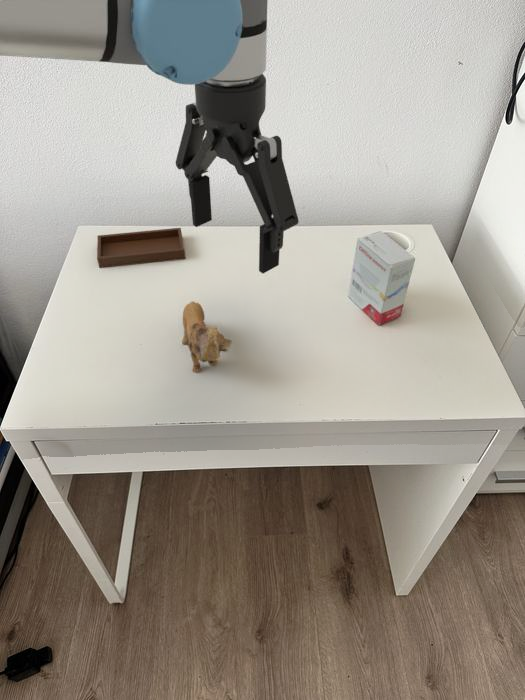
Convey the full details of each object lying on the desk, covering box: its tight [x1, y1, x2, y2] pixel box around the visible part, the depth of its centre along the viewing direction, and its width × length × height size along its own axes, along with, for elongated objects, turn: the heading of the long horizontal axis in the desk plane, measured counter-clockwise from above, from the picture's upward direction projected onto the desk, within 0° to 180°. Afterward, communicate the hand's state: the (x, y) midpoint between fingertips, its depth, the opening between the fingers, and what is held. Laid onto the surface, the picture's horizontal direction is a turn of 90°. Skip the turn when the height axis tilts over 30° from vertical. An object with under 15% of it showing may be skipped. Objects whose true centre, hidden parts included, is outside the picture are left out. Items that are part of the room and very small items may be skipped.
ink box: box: [347, 230, 416, 326], centre depth 84 cm, size 9×5×12 cm, turn 29°
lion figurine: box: [181, 301, 233, 374], centre depth 78 cm, size 15×5×9 cm, turn 27°
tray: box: [96, 227, 186, 269], centre depth 97 cm, size 15×7×2 cm, turn 101°
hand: (234, 244), depth 71 cm, fingers open, 13 cm apart
